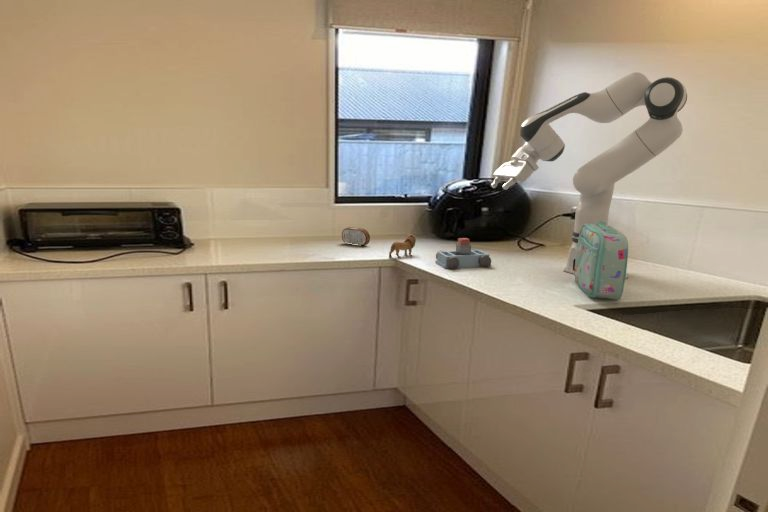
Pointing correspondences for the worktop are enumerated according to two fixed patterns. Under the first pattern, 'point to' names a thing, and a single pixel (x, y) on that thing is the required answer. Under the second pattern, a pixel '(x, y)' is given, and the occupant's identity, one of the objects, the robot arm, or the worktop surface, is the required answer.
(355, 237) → the wooden speaker
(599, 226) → the lunch box
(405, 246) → the lion figurine
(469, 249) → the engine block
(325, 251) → the worktop surface
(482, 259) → the chassis
